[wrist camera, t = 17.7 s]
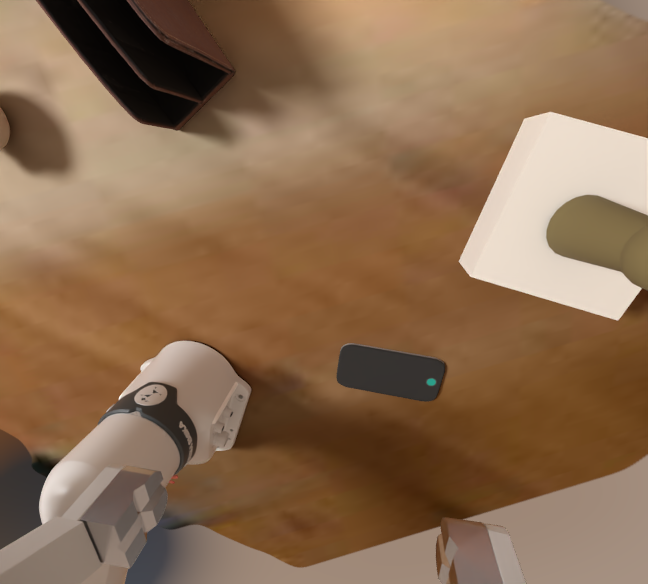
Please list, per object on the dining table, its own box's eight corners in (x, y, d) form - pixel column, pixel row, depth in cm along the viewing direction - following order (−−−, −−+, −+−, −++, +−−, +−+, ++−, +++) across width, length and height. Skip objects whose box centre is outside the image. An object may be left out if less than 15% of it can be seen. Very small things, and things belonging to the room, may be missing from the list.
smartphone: (435, 404, 48) (335, 385, 49) (434, 400, 48) (335, 382, 50) (448, 361, 44) (341, 343, 46) (447, 358, 45) (341, 340, 47)
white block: (584, 297, 39) (618, 320, 34) (457, 260, 40) (470, 276, 35) (676, 161, 33) (735, 162, 27) (522, 119, 33) (550, 111, 28)
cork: (628, 203, 30) (774, 231, 20) (591, 263, 32) (703, 315, 22) (567, 187, 29) (683, 206, 19) (534, 249, 32) (622, 294, 22)
